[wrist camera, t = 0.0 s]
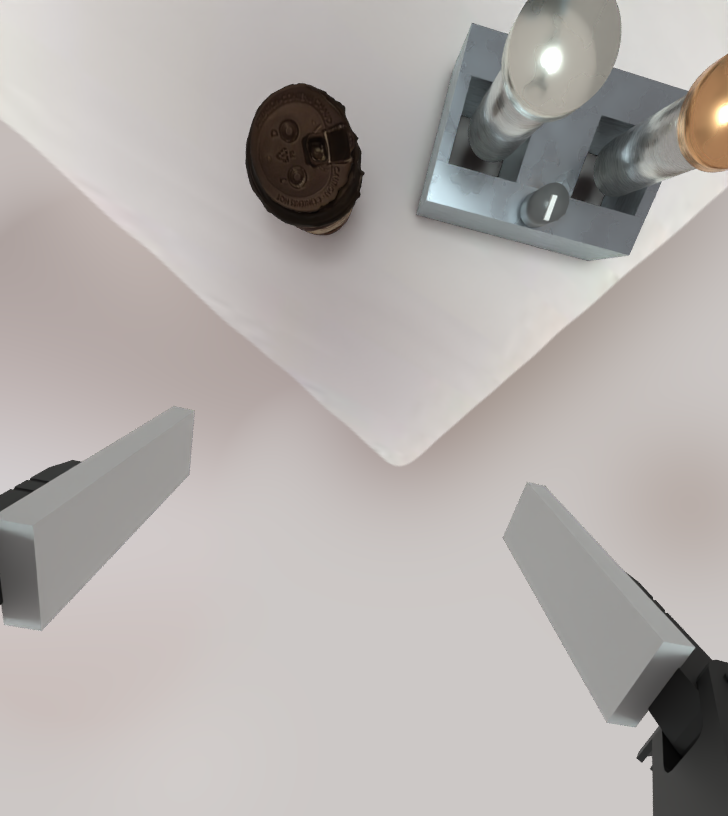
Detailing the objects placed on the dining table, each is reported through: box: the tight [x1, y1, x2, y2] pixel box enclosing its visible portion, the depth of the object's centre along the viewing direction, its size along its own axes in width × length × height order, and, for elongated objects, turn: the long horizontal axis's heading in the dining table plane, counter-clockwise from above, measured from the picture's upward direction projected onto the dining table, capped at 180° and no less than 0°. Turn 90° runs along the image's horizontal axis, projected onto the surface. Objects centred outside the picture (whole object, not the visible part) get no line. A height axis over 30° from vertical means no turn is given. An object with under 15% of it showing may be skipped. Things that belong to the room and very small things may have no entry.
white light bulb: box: [468, 0, 621, 162], centre depth 23 cm, size 6×6×10 cm
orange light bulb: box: [594, 54, 728, 197], centre depth 24 cm, size 6×6×10 cm
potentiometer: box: [520, 182, 569, 228], centre depth 29 cm, size 3×3×3 cm
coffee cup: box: [246, 83, 365, 235], centre depth 29 cm, size 9×8×13 cm
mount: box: [416, 23, 688, 261], centre depth 31 cm, size 12×19×6 cm, turn 77°
